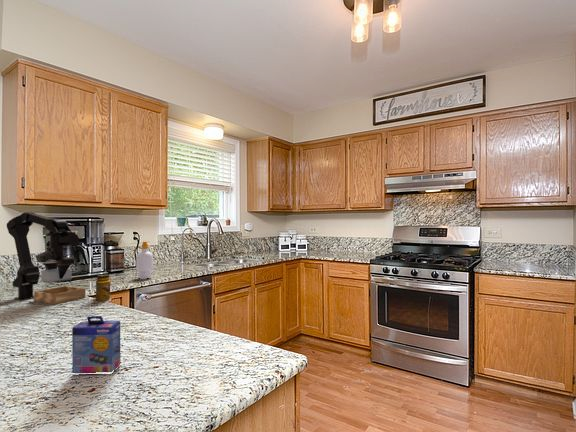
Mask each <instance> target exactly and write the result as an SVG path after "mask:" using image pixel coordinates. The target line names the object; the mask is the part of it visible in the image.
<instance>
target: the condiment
mask: <svg viewBox="0 0 576 432" xmlns="http://www.w3.org/2000/svg"><path fill="white" fill-rule="evenodd" d="M110 301H112V298H111V280H110V274H99V275H97V276H96V282H95V298H91V299H90V303H91V304H92V303H102V302H110Z"/></svg>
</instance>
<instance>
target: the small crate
mask: <svg viewBox="0 0 576 432" xmlns="http://www.w3.org/2000/svg"><path fill="white" fill-rule="evenodd" d="M40 274H41V276H40V278H41V281H40V282H43V283H49V284H50V283H51V284H52V283H57V282H64V281H71V280H72V275H73V274H72V268H68V270H67V271H66V273H65V275H64V277H63V278H62V279H60V278H59V269H58V268H57V269H51V270H48V269H45V270H41V272H40Z"/></svg>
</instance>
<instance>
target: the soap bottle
mask: <svg viewBox="0 0 576 432" xmlns="http://www.w3.org/2000/svg"><path fill="white" fill-rule="evenodd" d="M148 243H150V241H142V244H141V251H139V252H138V253H137V254H136V262H135V263H136V271H137V272H138V279H139V278H140V279H139V280H147V279H146V278H149V279H151V278H152V271H153V270H154V256H153V253H152V252H151V251H149V244H148Z"/></svg>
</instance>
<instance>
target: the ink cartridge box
mask: <svg viewBox="0 0 576 432" xmlns="http://www.w3.org/2000/svg"><path fill="white" fill-rule="evenodd" d="M86 318H87V320H85V321H80V322H79V323H77V324H76V325H74V326H72V329H71V330H72V332H71V333H72V335H71V337H72V341H71V343H72V344H71V346H72V351H71V352H72V353H71V354H72V355H71V360H72V361H71V364H72V369H71V370H72V373H96V372H112V371H113V370H115V369H116V368H117V367H118V366H119V365H120V364H121V361H122V360H121V321H120V320H104V319H103V316H102V315H91V316H86ZM93 319H94V320H93ZM95 319H96V320H95ZM72 373H71V374H72Z"/></svg>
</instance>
